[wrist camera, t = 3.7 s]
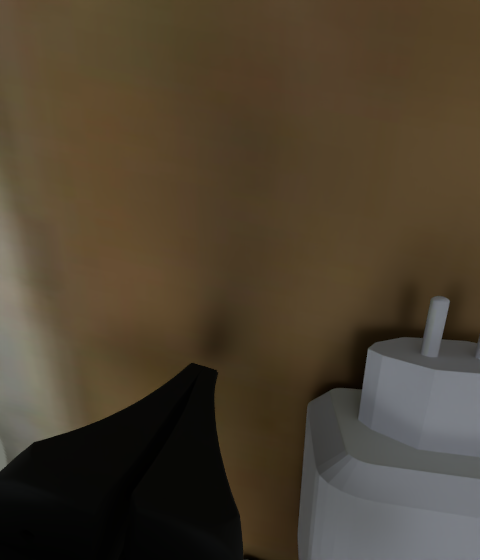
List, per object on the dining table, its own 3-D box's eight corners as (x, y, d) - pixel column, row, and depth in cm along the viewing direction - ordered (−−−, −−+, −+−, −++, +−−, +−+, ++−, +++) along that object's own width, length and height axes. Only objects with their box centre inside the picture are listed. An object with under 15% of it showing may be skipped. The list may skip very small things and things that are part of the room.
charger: (556, 283, 10) (469, 548, 14) (314, 275, 11) (296, 518, 15) (793, 342, 5) (563, 715, 9) (337, 317, 7) (303, 649, 10)
